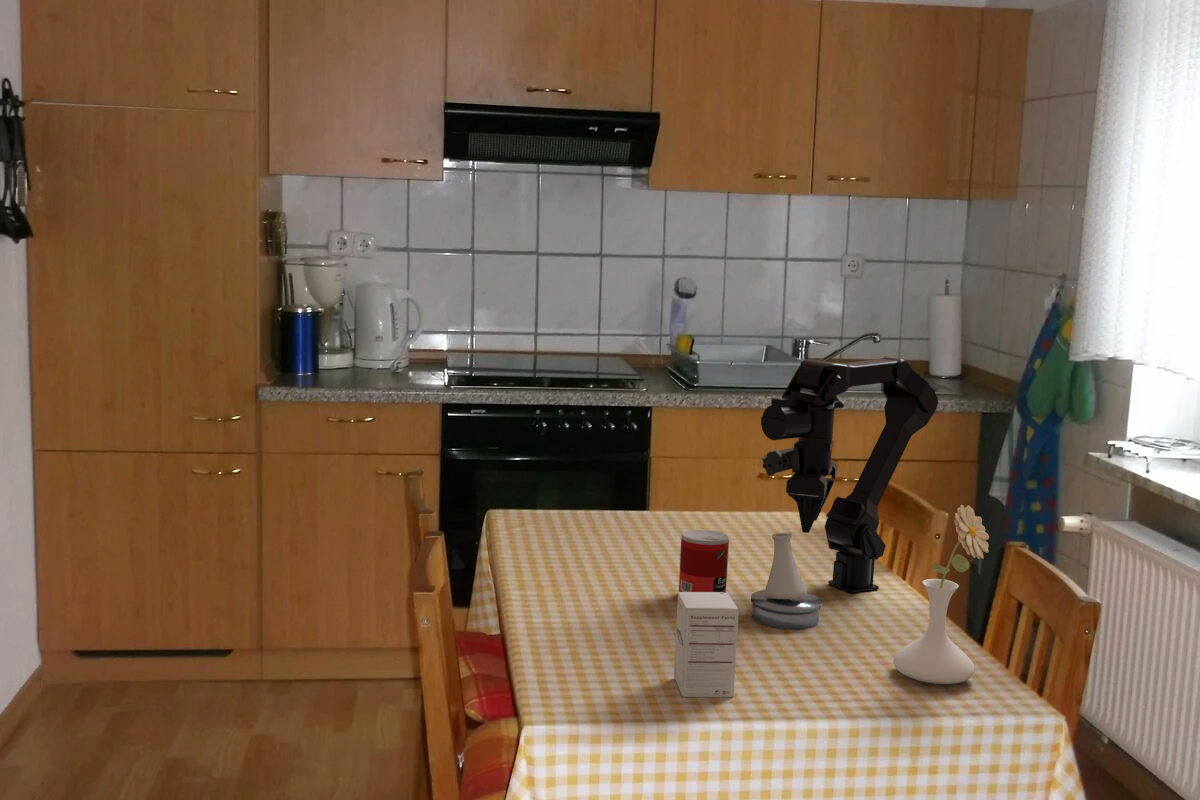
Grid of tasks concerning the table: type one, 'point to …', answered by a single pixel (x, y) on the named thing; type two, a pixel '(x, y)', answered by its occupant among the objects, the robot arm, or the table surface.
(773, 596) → the flask
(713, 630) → the supplement box
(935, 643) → the flower in vase
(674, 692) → the table surface
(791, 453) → the robot arm
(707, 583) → the canned food
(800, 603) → the biscuit tin
